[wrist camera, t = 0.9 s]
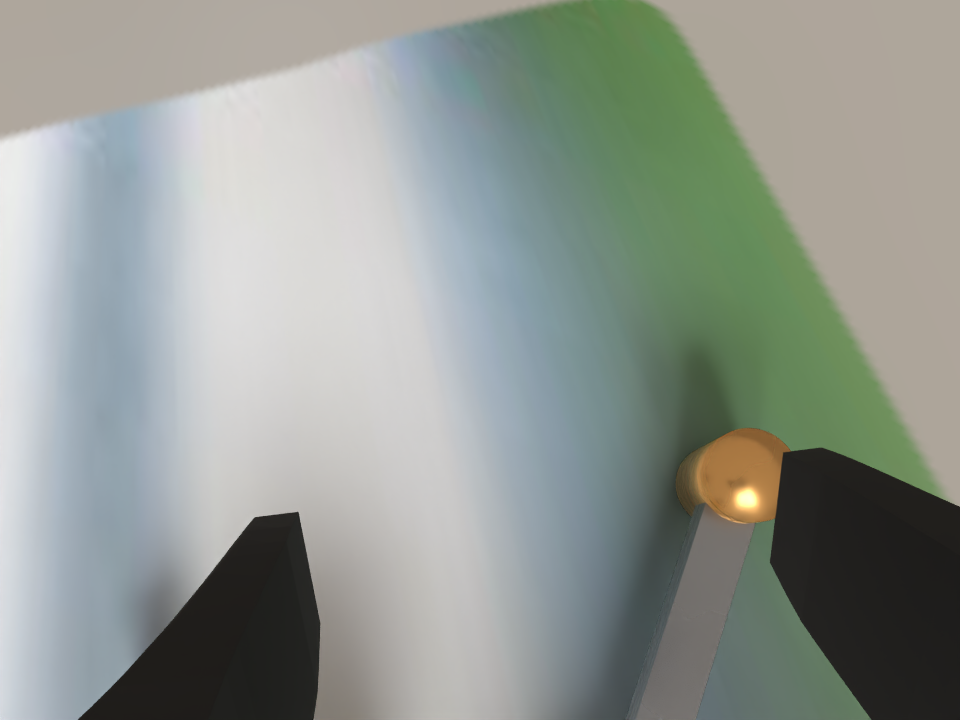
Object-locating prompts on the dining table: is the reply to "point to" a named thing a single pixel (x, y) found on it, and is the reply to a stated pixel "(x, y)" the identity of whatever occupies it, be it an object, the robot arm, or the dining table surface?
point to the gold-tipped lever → (707, 567)
